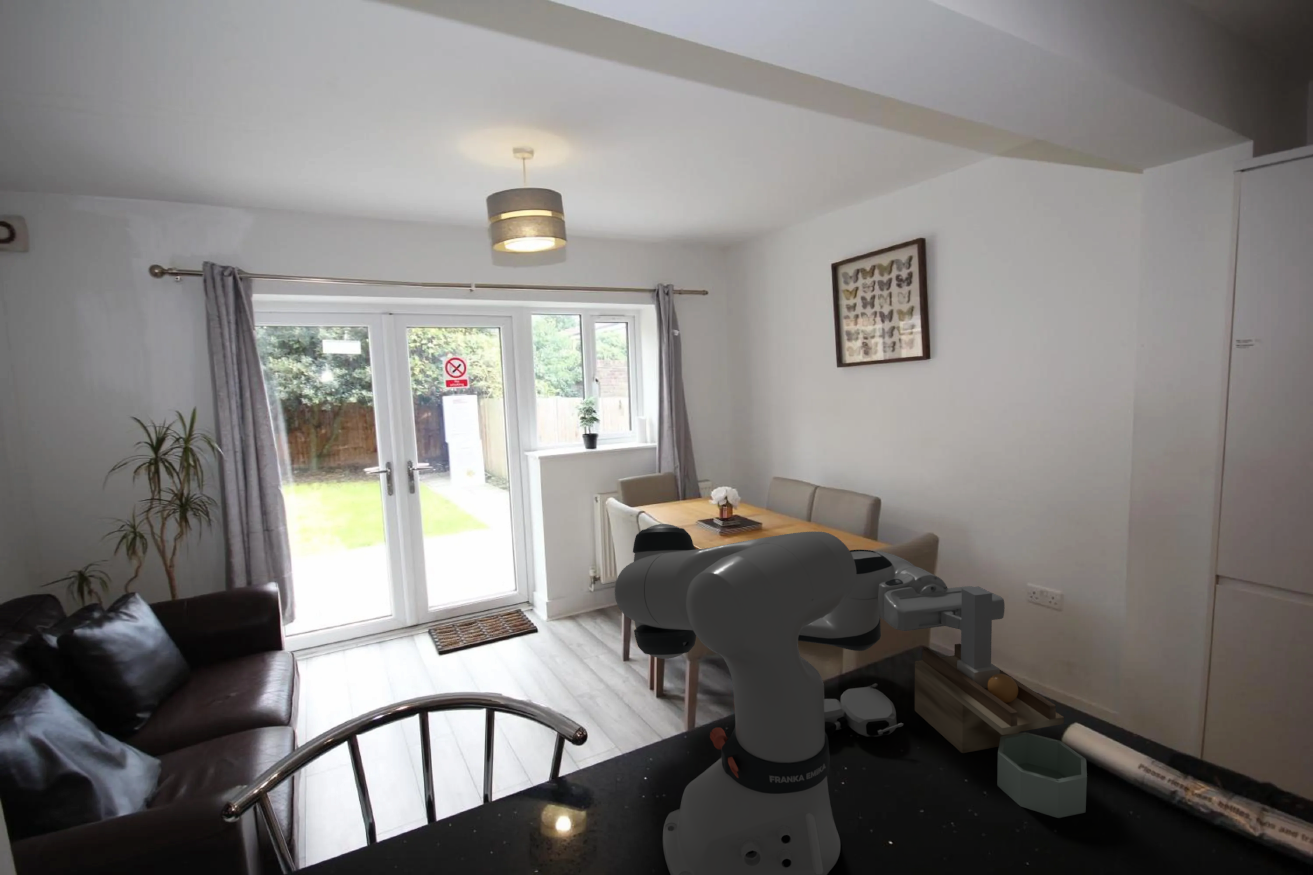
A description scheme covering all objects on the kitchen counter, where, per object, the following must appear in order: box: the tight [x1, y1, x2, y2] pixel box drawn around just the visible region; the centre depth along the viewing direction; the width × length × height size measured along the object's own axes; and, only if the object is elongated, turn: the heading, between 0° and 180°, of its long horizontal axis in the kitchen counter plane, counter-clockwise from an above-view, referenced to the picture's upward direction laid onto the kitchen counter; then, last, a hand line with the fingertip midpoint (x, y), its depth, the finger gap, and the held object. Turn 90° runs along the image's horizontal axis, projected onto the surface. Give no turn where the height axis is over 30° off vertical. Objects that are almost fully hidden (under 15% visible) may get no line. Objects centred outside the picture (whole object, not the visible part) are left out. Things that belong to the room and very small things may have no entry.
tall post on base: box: [957, 586, 1001, 688], centre depth 95 cm, size 4×4×15 cm
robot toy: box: [824, 683, 904, 738], centre depth 101 cm, size 12×4×15 cm
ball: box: [987, 674, 1018, 703], centre depth 90 cm, size 4×4×4 cm
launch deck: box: [914, 643, 1065, 754], centre depth 95 cm, size 10×20×11 cm, turn 11°
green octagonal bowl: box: [996, 731, 1088, 819], centre depth 84 cm, size 10×10×5 cm
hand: (974, 627), depth 97 cm, fingers closed, pressing on tall post on base
